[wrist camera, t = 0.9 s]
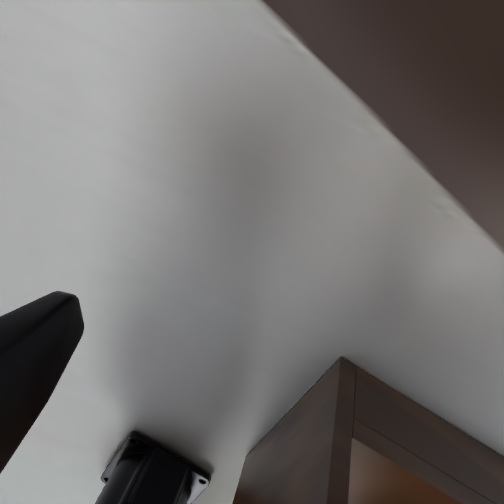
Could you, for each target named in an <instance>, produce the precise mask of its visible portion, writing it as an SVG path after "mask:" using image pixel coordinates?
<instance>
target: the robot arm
mask: <svg viewBox="0 0 504 504" xmlns="http://www.w3.org/2000/svg"><path fill="white" fill-rule="evenodd" d="M83 331H84V322H83V317H82V312H81V308H80V303H79V299H78V298H77V297H76V295H74V294H70V293H65V292H61V291H55V292H52V293H50V294H48V295H46V296H44V297H42V298H39V299H37V300H35V301H33V302H31V303H29V304H27V305H24V306H22V307H20V308H18V309H16V310H14V311H11V312H9V313H7V314H5V315H3V316H1V317H0V473H1V472H2V470H3V469H4V467H5V466H6V464H7V463H8V461H9V460H10V458H11V457H12V455H13V454H14V452H15V451H16V449H17V448H18V446H19V445H20V443H21V442H22V440H23V439H24V437H25V436H26V434H27V432H28V431H29V429H30V428H31V426H32V425H33V423H34V422H35V420H36V419H37V417H38V416H39V414H40V413H41V411H42V410H43V408H44V406H45V405H46V403H47V402H48V400H49V398H50V396H51V394H52V393H53V391H54V389H55V387H56V385H57V383H58V381H59V379H60V377H61V375H62V374H63V372H64V370H65V368H66V366H67V364H68V362H69V360H70V358H71V356H72V354H73V352H74V351H75V349H76V347H77V345H78V343H79V341H80V339H81V337H82V334H83ZM101 480H102V481H103V482H104V483H105V484H106V485H105V486H104V488H103V490H102V492H101V494H100V496H99V497H98V499H97V501H96V503H95V504H192V503H193V502H194V501H195V500H196V498H197V497H198V496H199V495H200V494H201V493H202V492H203V491H204V490H205V489H206V488H207V487H208V486H209V483H210V480H211V477H210V475H209V474H208V473H206V472H204V471H202V470H201V469H199V468H197V467H196V466H194V465H192V464H191V463H189V462H187V461H185V460H184V459H182V458H180V457H179V456H177V455H175V454H173V453H172V452H170V451H168V450H167V449H165V448H163V447H162V446H160V445H158V444H156V443H155V442H153V441H151V440H150V439H148V438H146V437H145V436H143V435H141V434H139V433H137V432H131V433H130V434H129V436H128V437H127V439H126V440H125V442H124V443H123V445H122V446H121V448H120V449H119V450H118V452H117V453H116V455H115V456H114V458H113V459H112V461H111V462H110V464H109V465H108V467H107V468H106V470H105V471H104V473H103V474H102V476H101Z"/></svg>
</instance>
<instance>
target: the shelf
mask: <svg viewBox="0 0 504 504" xmlns="http://www.w3.org/2000/svg"><path fill="white" fill-rule="evenodd" d="M233 504H504V457H503V456H501V455H500V454H498V453H496V452H495V451H493V450H492V449H490V448H488V447H487V446H485V445H484V444H482V443H480V442H479V441H477V440H475V439H474V438H472V437H471V436H469V435H467V434H466V433H464V432H462V431H461V430H459V429H458V428H456V427H454V426H453V425H451V424H450V423H448V422H446V421H445V420H443V419H441V418H440V417H438V416H437V415H435V414H433V413H432V412H430V411H428V410H427V409H425V408H424V407H422V406H420V405H419V404H417V403H415V402H414V401H412V400H411V399H409V398H407V397H406V396H404V395H403V394H401V393H399V392H398V391H396V390H394V389H393V388H391V387H390V386H388V385H386V384H385V383H383V382H381V381H380V380H378V379H377V378H375V377H373V376H372V375H370V374H368V373H367V372H365V371H364V370H362V369H360V368H359V367H357V366H356V365H354V364H352V363H351V362H349V361H348V360H346V359H344V358H343V357H341V358H340V359H339V360H338V361H337V362H336V363H335V364H334V365H333V366H332V367H331V368H330V369H329V370H328V371H327V372H326V373H325V374H324V375H323V376H322V377H321V379H320V380H319V381H318V382H317V383H316V384H315V385H314V386H313V387H312V388H311V389H310V390H309V391H308V392H307V393H306V394H305V395H304V396H303V397H302V398H301V400H300V401H299V402H298V403H297V404H296V405H295V406H294V407H293V408H292V409H291V410H290V411H289V412H288V413H287V414H286V415H285V416H284V417H283V418H282V419H281V420H280V422H279V423H278V424H277V425H276V426H275V427H274V428H273V429H272V430H271V431H270V432H269V433H268V434H267V435H266V436H265V437H264V438H263V439H262V440H261V441H260V443H259V444H258V445H257V446H256V447H255V448H254V449H253V450H252V451H251V452H250V453H249V454H248V455H247V456H246V458H245V462H244V465H243V469H242V472H241V476H240V479H239V483H238V486H237V490H236V493H235V497H234V500H233Z"/></svg>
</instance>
